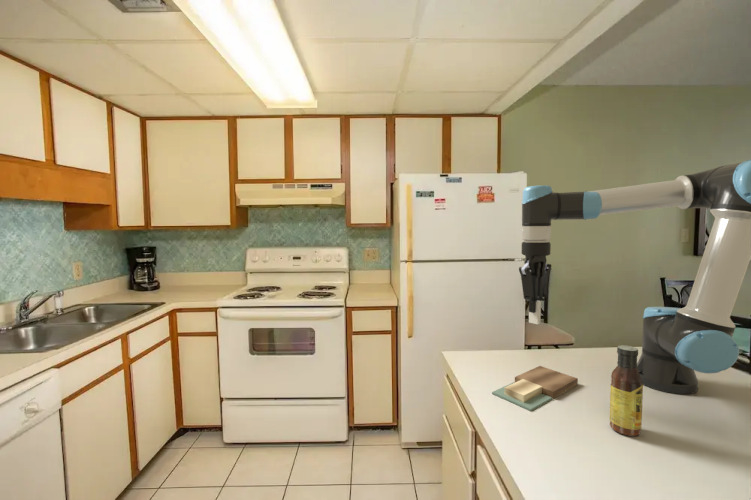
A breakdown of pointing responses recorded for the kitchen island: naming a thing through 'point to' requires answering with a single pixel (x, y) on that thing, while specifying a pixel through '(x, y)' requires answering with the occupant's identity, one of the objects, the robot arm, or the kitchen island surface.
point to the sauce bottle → (626, 393)
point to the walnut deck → (549, 380)
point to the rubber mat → (527, 405)
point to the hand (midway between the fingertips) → (534, 322)
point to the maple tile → (523, 390)
